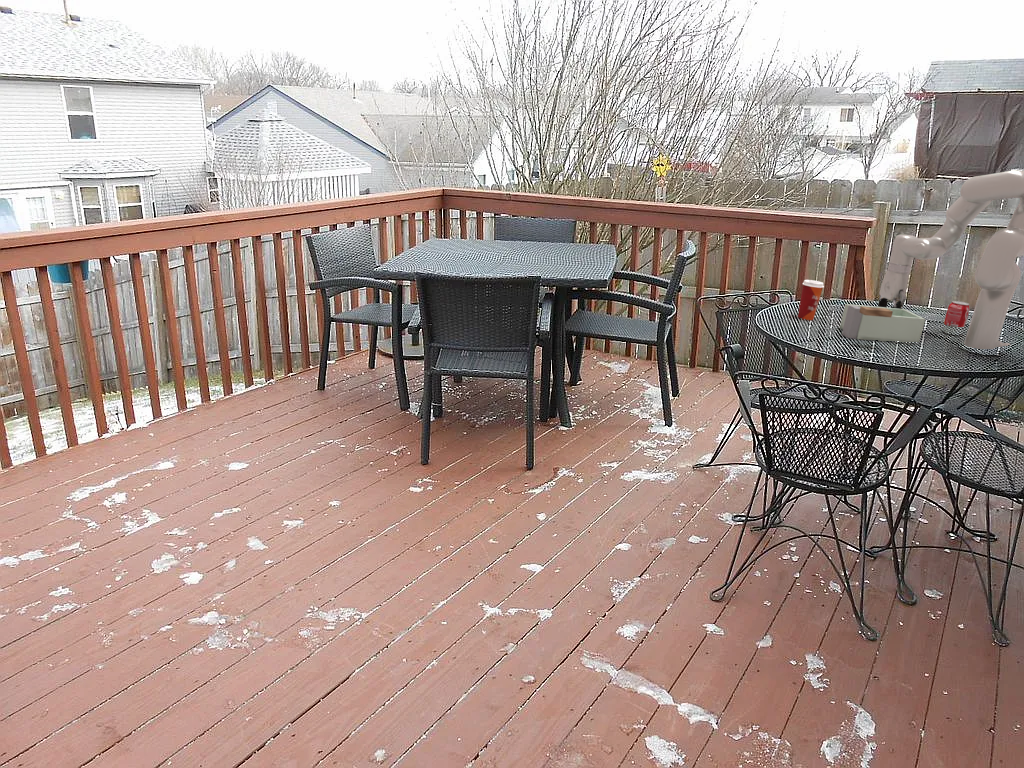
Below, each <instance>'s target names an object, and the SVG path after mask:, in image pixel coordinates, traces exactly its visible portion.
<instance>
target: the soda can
mask: <svg viewBox="0 0 1024 768" xmlns="http://www.w3.org/2000/svg"><path fill="white" fill-rule="evenodd" d="M970 310H971V309H970V303H968V302H966V301H965V302H964V301H962V300H952V301H951V303H950V304H949V305H948V308H947V310H946V314H945V317H944V320H943V323H944V324H945V325H947V326H951V327H965V328H966V325H967V321H968V318H969V313H970Z"/></svg>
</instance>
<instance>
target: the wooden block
mask: <svg viewBox="0 0 1024 768" xmlns="http://www.w3.org/2000/svg"><path fill="white" fill-rule="evenodd" d="M874 307H875V306H874ZM874 307H862V306H861V307H860V311H859V312H860V313H862V314H863V315H868V316H880V317H891V316H892V313H893V311H891V310H889V309H886V308H874Z"/></svg>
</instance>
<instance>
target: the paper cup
mask: <svg viewBox="0 0 1024 768" xmlns="http://www.w3.org/2000/svg"><path fill="white" fill-rule="evenodd" d="M801 284H802V289H801V294H800V295H801V296H800V300H799V308H798V313H797V318H798V317H799V318H798V319H800V318H802V319H801V320H804V319H806V320H805V321H813V320H814V319H815V315H816V313H817V309H818V305H819V302H820V299H821V295H822V292H823V289H824V288H825V286H824V282H822V281H819V280H814V279H804V280H803V282H802V283H801Z"/></svg>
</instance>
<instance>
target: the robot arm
mask: <svg viewBox="0 0 1024 768" xmlns="http://www.w3.org/2000/svg"><path fill="white" fill-rule="evenodd" d="M959 192H960V196H959V197H958V198H957V199H956V200H955V201H954V202H953V203H952V204H951V205H950V206H949V207H948V208H947V210H946V212H945V215H946V216H945V218H946V219H945V221H944V223H943V225H942V226H941V227H940V228H939V229H938V230H937V231H936V232H935V234H933V235H932V236H931V237H923V238H922V237H921V238H920V237H917V236H915V235H911V234H906V233H905V234H904V233H903V234H897V235H896V237H894V238H895V239H894V243H893V246H892V250H891V254H890V258H889V263H888V267H887V270H886V272H885V275H884V277H883V280H882V282H881V286H880V287H879V297H878V299H879V301H878V303H877V304H878V305H877V307H886V308H888V304H889V301H892V302H893V303H892V305H893V306H891V308H897V309H903V307H904V304H905V303H906V301H907V296H906V293H907V288H908V282H909V275H910V273H911V269H912V265H913V262H914V259H917V260H921V261H922V260H924V261H925V260H935V259H938V258H940V257H942V256H943V255H944V254H945V253H947V252H948V250H949V249H951V248H952V247H953V246H954V245H955V244H956V243H957V242H958V240H960V238H961V237H962V235H963V234H964V232H965V231H966V229H967V228H968V225H970V224H971V222H973V220H974V219H975V218H977V217H978V215H979V214H981V213H982V211H984V210H985V208H987V207H988V205H990V204H991V202H993V201H997V200H1005V199H1006V200H1007V199H1019V203H1018V205H1017V207H1016V208H1015V210H1014V211H1013V214H1012V216H1011V219H1010V221H1009V222H1008V225H1007V226H1006V228H1002V229H999V230H997V231H996V232H995V233H993V234H992V235H991V237H990V238H989V240H988V241H987V244H986V246H985V248H984V251H983V253H982V255H981V258H980V259H979V262H978V264H977V266H976V269H975V273H974V280H975V283H976V284H977V286H978V287H980V288H981V289H980V291H979V294H978V295H977V296H978V297H977V300H976V303H975V306H974V310H973V312H972V316H971V319H970V323H969V326H968V329H967V332H966V336H965V340H964V344H965V345H966V346H968V347H972V348H977V349H994V348H996V347H1002V346H1008V345H1011V343H1010V342H1003V341H1001V340H999V339H1000V336H1001V332H1002V331H1003V330H1002V329H1003V328H1004V327H1003V326H1004V324H1005V323H1004V322H1005V320H1006V317H1007V315H1008V311H1009V309H1010V305H1011V301H1012V299H1013V296H1014V293H1015V291H1016V289H1017V288H1018V285H1019V283H1020V281H1021V277H1022V276H1021V275H1022V274H1021V273H1022V272H1021V269H1020V266H1019V265H1018V264H1017V263H1016V262H1015V261H1016V258H1017V257H1021V256H1024V170H1019V169H1018V170H1016V169H1015V170H1014V169H1013V170H1007V171H1002V172H997V173H996V172H995V173H989V174H982V175H977V176H972V177H970V178H968V179H967V180H965V181H964V182H963V184H962V185H961V187H960V191H959Z"/></svg>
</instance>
